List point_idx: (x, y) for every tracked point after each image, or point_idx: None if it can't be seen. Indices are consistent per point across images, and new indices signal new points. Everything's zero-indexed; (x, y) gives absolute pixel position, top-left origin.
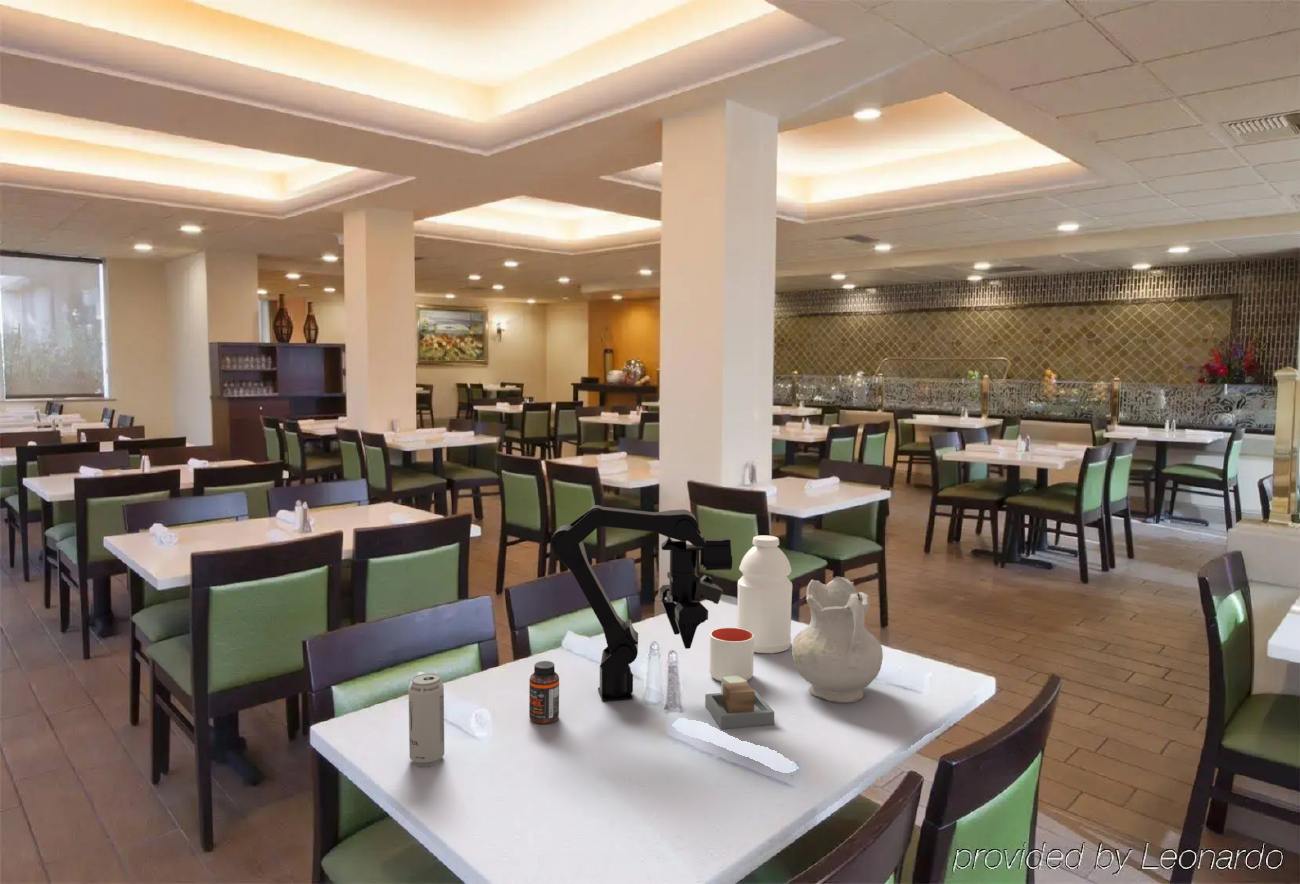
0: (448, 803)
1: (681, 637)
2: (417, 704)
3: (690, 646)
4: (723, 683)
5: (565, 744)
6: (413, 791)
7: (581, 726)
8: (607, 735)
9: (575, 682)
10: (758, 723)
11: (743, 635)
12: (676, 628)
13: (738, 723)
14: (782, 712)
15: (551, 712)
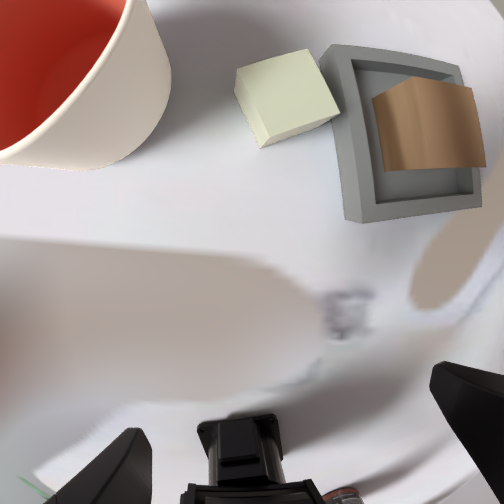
0: (466, 476)
1: (471, 444)
2: None
3: (453, 364)
4: (281, 135)
5: (422, 454)
6: (438, 501)
7: (379, 458)
8: (422, 419)
9: (174, 489)
10: None
11: (2, 16)
12: (140, 472)
13: None
14: (379, 25)
15: (362, 501)
